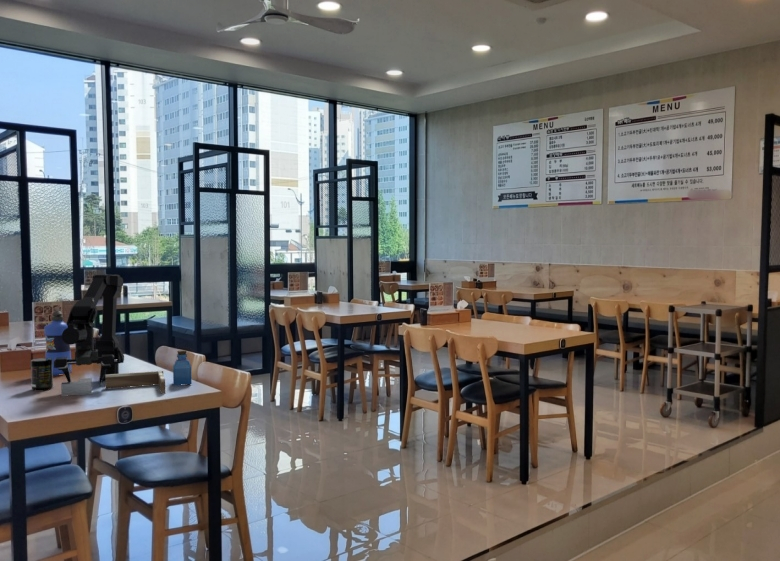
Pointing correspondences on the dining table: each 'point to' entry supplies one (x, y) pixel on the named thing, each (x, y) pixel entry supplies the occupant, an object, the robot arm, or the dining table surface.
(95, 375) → the dining table surface
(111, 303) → the robot arm
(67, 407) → the dining table surface
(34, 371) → the supplement container
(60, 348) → the water bottle
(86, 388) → the bracket
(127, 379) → the tan l-shaped wall
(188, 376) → the blue corked bottle
